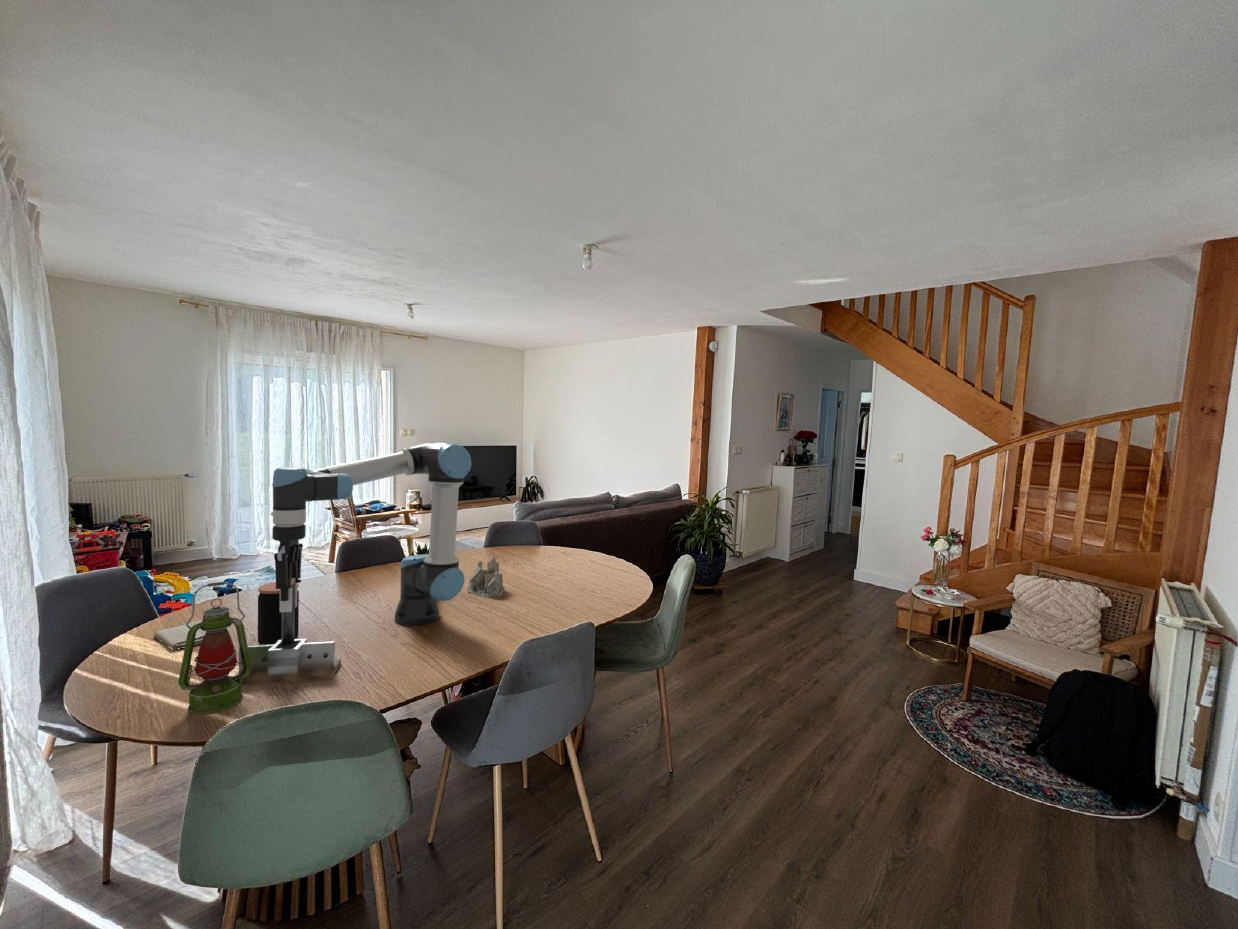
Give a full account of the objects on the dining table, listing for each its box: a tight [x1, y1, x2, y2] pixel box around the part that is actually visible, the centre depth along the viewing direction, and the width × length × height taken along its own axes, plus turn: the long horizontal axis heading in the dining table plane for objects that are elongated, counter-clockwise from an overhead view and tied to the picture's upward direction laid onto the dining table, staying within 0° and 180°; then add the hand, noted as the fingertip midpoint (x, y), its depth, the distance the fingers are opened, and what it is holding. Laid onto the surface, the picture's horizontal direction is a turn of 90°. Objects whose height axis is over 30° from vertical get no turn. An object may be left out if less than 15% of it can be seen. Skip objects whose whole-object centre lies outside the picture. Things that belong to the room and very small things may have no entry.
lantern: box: [178, 581, 251, 716], centre depth 122 cm, size 14×11×30 cm
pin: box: [281, 577, 295, 646], centre depth 137 cm, size 3×3×18 cm
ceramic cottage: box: [466, 555, 506, 598], centre depth 217 cm, size 16×16×15 cm
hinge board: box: [232, 658, 342, 686], centre depth 138 cm, size 24×9×2 cm, turn 104°
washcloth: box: [153, 620, 206, 651], centre depth 158 cm, size 12×18×3 cm, turn 58°
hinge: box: [238, 638, 336, 676], centre depth 138 cm, size 23×7×7 cm, turn 104°
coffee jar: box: [257, 581, 300, 645], centre depth 158 cm, size 11×11×18 cm
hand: (288, 609), depth 137 cm, fingers closed on pin, 3 cm apart
